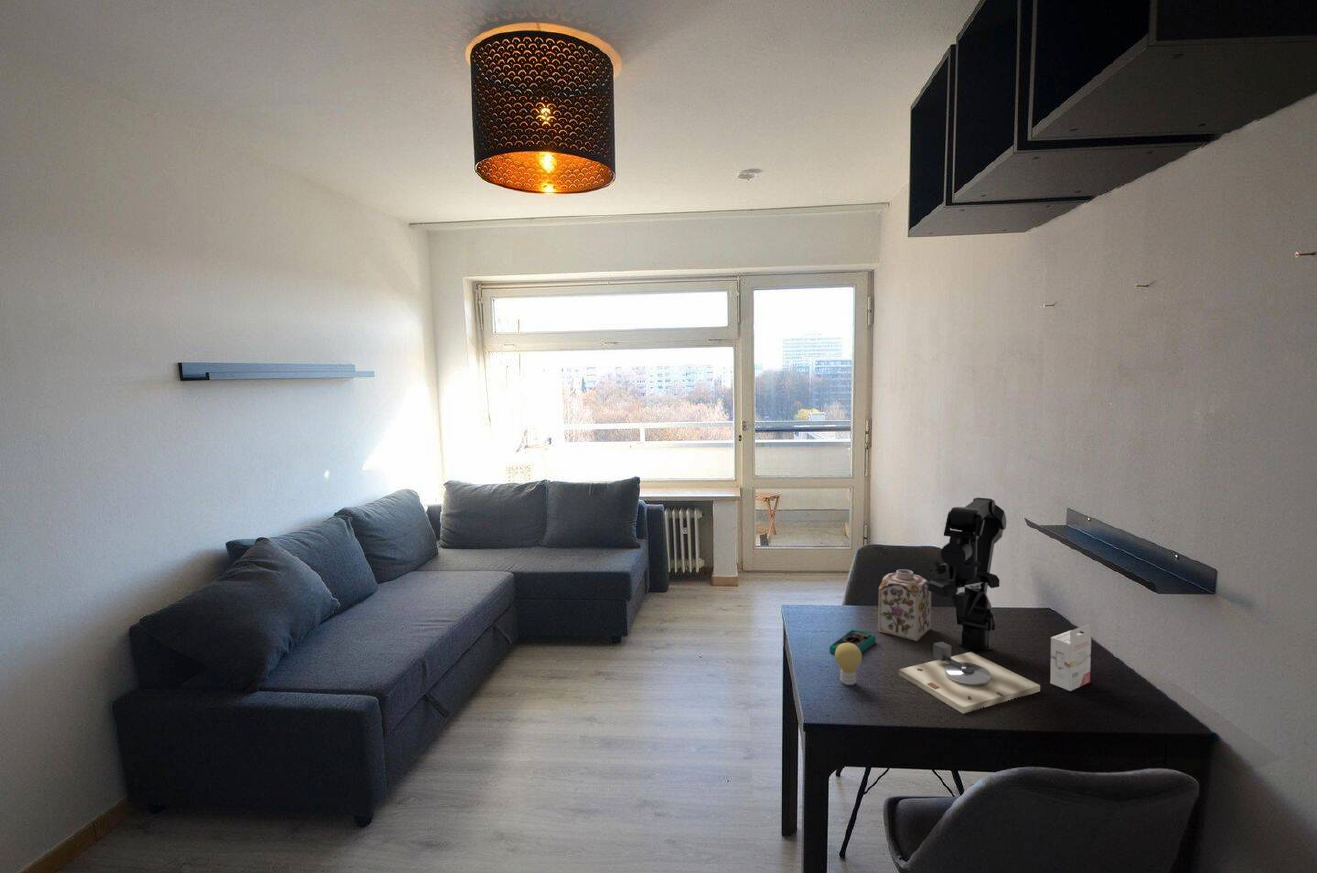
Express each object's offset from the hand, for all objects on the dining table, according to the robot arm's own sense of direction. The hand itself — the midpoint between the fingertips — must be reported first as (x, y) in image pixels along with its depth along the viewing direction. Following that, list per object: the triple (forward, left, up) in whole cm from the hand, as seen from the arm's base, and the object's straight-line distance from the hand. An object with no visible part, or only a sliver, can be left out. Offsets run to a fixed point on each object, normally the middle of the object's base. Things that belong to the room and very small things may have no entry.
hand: (963, 615), depth 163 cm
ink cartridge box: (-15, +18, -13) cm, 27 cm away
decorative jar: (-2, -23, -13) cm, 27 cm away
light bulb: (+33, -4, -13) cm, 36 cm away
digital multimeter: (+19, -20, -14) cm, 31 cm away
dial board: (+7, +8, -13) cm, 17 cm away
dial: (+7, +6, -11) cm, 14 cm away
